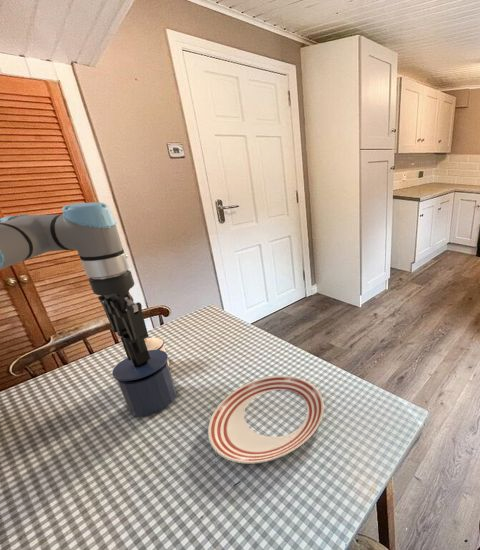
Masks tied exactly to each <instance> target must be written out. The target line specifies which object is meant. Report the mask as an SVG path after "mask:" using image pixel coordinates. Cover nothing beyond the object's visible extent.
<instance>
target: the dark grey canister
mask: <svg viewBox="0 0 480 550" xmlns="http://www.w3.org/2000/svg"><path fill="white" fill-rule="evenodd" d="M116 381H117V383H118V386H119V388H120V392H121V394H122V396H123V399H124V401H125V404H126V406H127V410H128V411H129V413H130V415H131V416H133V417H137V418H141V417H148V416H152V415H155V414H157V413H160V412H161V411H163V410H165V409H166V408H167V407H168V406H170V405H171V404H172V403H173V402H174V401H175V399H176V398H177V389H176V386H175V382H174V379H173V376H172V372H171V368H170V365H169V366H168V362H166V363H165V365H164V366H163V367H162V368H160V369H159V370H157V371H156V372H154V373H152V374H150V375H148V376H146V377H143V378H140V379H136V380H131V381H120V380H116Z"/></svg>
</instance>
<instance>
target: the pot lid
mask: <svg viewBox="0 0 480 550" xmlns="http://www.w3.org/2000/svg"><path fill="white" fill-rule="evenodd" d="M123 339H124V342H125V345H126V347H127V350H128V353H129V356H130V358H131V360H128V357H126V358H124V359H123V360H121V361H119V362H118V363H117V364H116V365H115V366H114V368H113V369H112V373H111V375H112V377H113V379H115V380H116V381H117V380H120V381H131V380H136V379H140V378H143V377H146V376H148V375H150V374H152V373H154V372H156V371H157V370H159V369H160V368H162V367H163V366H164V365H165V363H166V362H167V360H168V361H169V356H168V353H167V351H166V352H164V351H162V350H148V353H149V356H150V359H149V360H147V361H145V362H144V363H142V364H140V365H138V364H137V362H136V359H135V356H134V353H133V350H132V348H131V345H130V344H129V343H128V342H129V341H131V339H130V336H129V334H126V335H124V336H123Z"/></svg>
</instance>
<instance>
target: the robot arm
mask: <svg viewBox="0 0 480 550" xmlns="http://www.w3.org/2000/svg"><path fill="white" fill-rule="evenodd" d="M61 211H62V214H19V215H10V216H4V217H1V218H0V271H2V270H4V269H6V268H9V267H11V266H13V265H16V264H19V263H22V262H24V261H27V260H30V259H32V258H35V257H37V256H40V255H44V254H46V253H49V252H60V251H61V252H62V251H75V250H76V251H77V254H78V256H79V259H80V262H81V265H82V268H83V271H84V273H85V276H86V277H88V278H89V279H88V282H89V285H90V288H91V291H92V293H93V294H94V295H97V298H98V301H99V302H100V304H101V306H102V308H103V310H104V312H105V315H106V318H107V321H108V322H109V325H110V327H111V330H112V332H113V333H114V334H116V333H117V337H119V338H120V341H121V344H122V346H123V349H124V352H125V354H126V358H128V360H131V358H130V356H129V353H128V350H127V347H126V345H125V342H124V339H123V336H124V335H126V334H129V336H130V339H131V341H129V342H128V343H129V344H130V345H131V348H132V350H133V353H134V356H135V359H136V362H137V364H138V365H140V364H142V363H144V362H145V361H147V360H149V359H150V356H149V353H148V350H147V347H146V344H145V341H144V339H146V338H150V337H149V332H148V329H147V325H146V321H145V319H144V314H143V309H142V307H143V306H142V302H134V298H133V296H132V295H131V293H130V290H131V289H132V288H133V287H134V286H135V281H134V277H133V274H132V271H131V270H129V269H130V266H129V263H128V260H127V258H129V257H128V254H126V253H125V250H124V247H123V244H122V241H121V237H120V234H119V231H118V228H117V222H116V220H115V218H114V215H113V213H112V210H111V208H110V206H109V205H107V204H106V203H104V202H97V201H96V202H95V201H94V202H93V201H92V202H78V203H77V202H76V203H72V204H71V203H70V204H66V205H64V206H62V209H61Z"/></svg>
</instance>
